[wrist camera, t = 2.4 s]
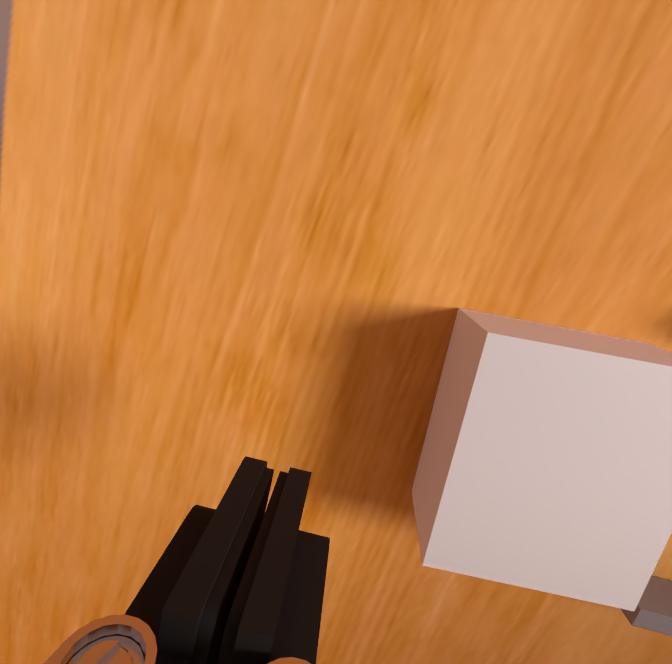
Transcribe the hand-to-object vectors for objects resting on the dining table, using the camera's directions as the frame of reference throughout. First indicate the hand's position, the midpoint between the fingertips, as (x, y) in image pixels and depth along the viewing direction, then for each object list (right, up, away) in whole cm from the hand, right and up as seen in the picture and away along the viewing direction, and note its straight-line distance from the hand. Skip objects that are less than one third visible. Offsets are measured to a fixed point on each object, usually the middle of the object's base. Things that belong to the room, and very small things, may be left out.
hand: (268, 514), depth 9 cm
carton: (+11, 0, +10) cm, 14 cm away
